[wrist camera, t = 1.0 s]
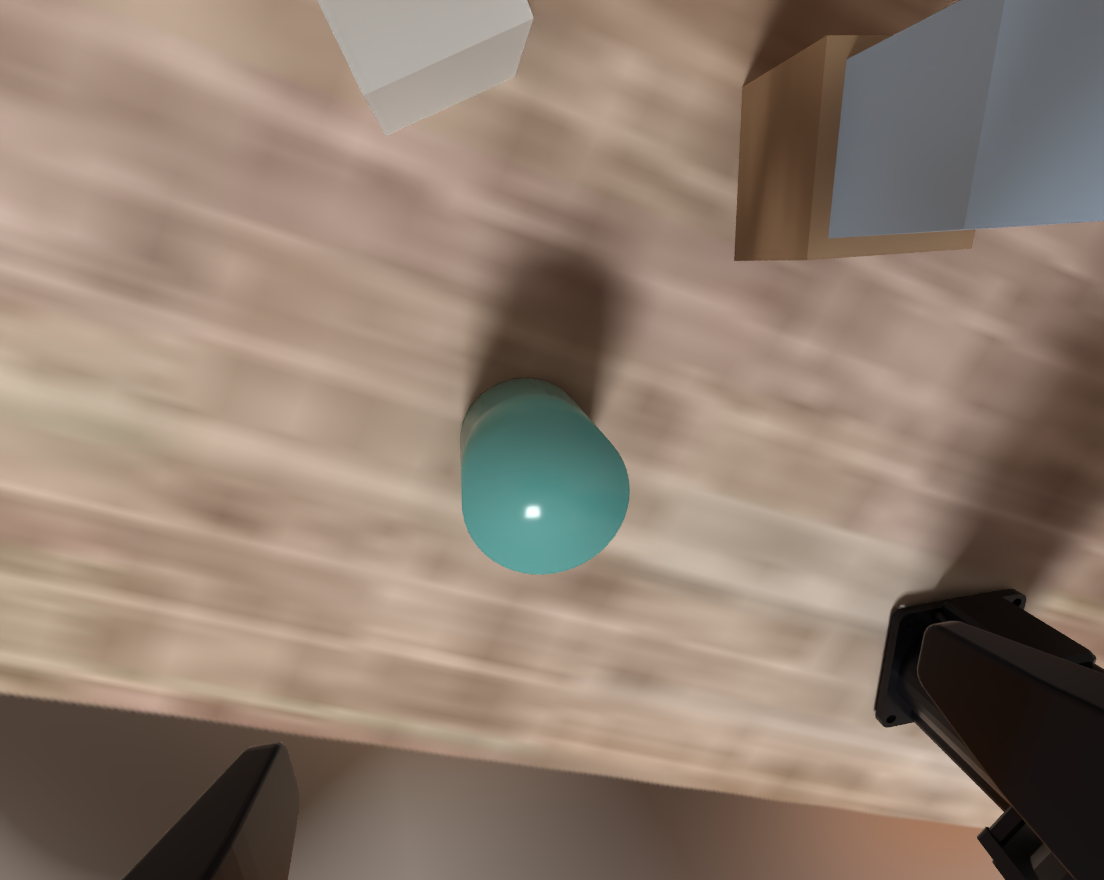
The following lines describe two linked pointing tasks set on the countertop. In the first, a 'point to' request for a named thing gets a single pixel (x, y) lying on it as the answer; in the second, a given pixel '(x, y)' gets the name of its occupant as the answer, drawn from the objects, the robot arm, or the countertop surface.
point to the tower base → (805, 163)
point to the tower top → (975, 122)
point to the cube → (427, 51)
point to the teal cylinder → (538, 479)
